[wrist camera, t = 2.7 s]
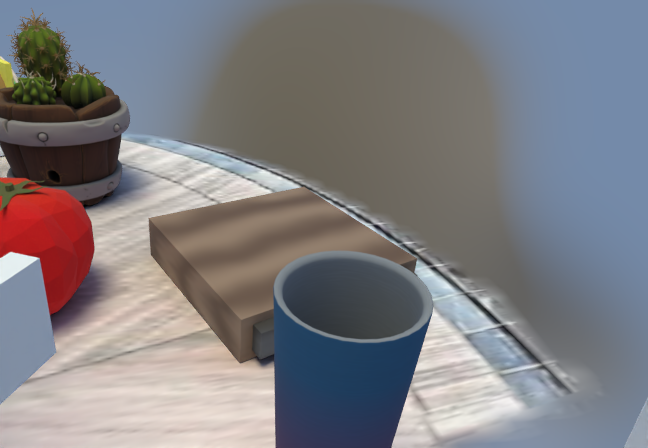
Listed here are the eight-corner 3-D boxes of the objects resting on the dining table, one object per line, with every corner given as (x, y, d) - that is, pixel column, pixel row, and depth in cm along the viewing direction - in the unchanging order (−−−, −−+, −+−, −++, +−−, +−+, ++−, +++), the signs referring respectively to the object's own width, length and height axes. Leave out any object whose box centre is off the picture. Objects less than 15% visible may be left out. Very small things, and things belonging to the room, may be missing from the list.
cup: (286, 602, 25) (312, 359, 18) (244, 483, 30) (252, 261, 24) (406, 549, 28) (466, 322, 21) (348, 449, 33) (381, 242, 26)
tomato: (-32, 366, 37) (-68, 237, 32) (-63, 281, 45) (-95, 169, 40) (126, 312, 43) (116, 200, 39) (75, 247, 52) (61, 148, 47)
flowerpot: (155, 205, 62) (144, 24, 52) (5, 231, 53) (-38, 21, 44) (118, 163, 72) (103, 6, 63) (-13, 180, 63) (-51, 1, 54)
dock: (150, 254, 52) (148, 218, 50) (301, 218, 62) (303, 186, 60) (247, 372, 38) (249, 329, 37) (418, 301, 49) (426, 264, 47)
